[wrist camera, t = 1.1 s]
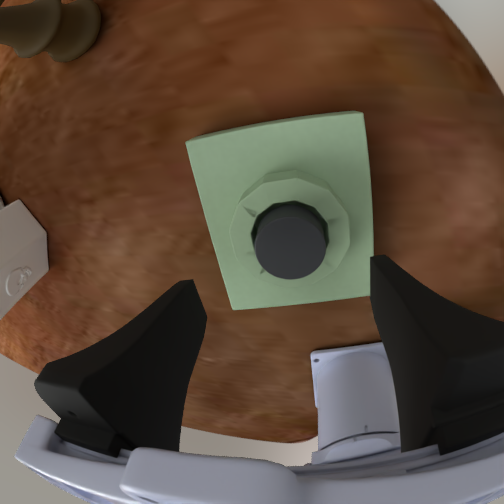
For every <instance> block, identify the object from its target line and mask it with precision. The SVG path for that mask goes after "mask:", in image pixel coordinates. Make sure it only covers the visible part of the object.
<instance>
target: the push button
mask: <svg viewBox="0 0 504 504" xmlns="http://www.w3.org/2000/svg"><path fill="white" fill-rule="evenodd" d="M325 253H326V242H325V237H324V233H323V228H322V225H321V223H320V221H319V219H318V218H317V216H316V215H315V214H314V213H313V212H311V211H310V210H308V209H307V208H304V207H302V206H298V205H282V206H279V207H276V208H274V209H272V210H271V211H269V212H268V213H267V214H266V215H265V216H264V217H263V219H262V220H261V222H260V224H259V227H258V231H257V236H256V240H255V255H256V258H257V260H258V262H259V264H260V265H261V266H262V268H263V269H264V270H265V271H267V272H268V273H269V274H271V275H273V276H275V277H278V278H281V279H288V280H292V279H300V278H303V277H306V276H308V275H310V274H311V273H313V272H314V271H315V270H316V269H317V268H318V267H319V266H320V265H321V263H322V262H323V259H324V257H325Z"/></svg>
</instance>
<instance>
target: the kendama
mask: <svg viewBox="0 0 504 504" xmlns="http://www.w3.org/2000/svg"><path fill="white" fill-rule="evenodd" d="M3 2H4V0H0V6H1V5H2V3H3ZM100 24H101V14H100V10H99V7H98V5H97V4H96V3H95V2H93V1H92V0H76V1H74V2H72V3H69V4H62V3H61V0H35V1H33V2H32V3H29V4H24V5H18V6H9V7H0V44H4V45H8V46H11V47H13V48H14V51H15V52H16V54H17V55H18V56H19V57H21V58H30V57H33V56H35V55H37V54H39V53H41V52H42V51H46V52H48V54H49V55H50V56H51V57H52V59H53V60H54V61H58V62H68V61H71V60H74V59H77V58H78V57H79V56H81V55H82V54H84V53H85V52H86V51H87V50H88V49H89V48H90V47H91V45H92V44H93V43H94V42H95V41H96V38H97V35H98V33H99V30H100Z"/></svg>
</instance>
